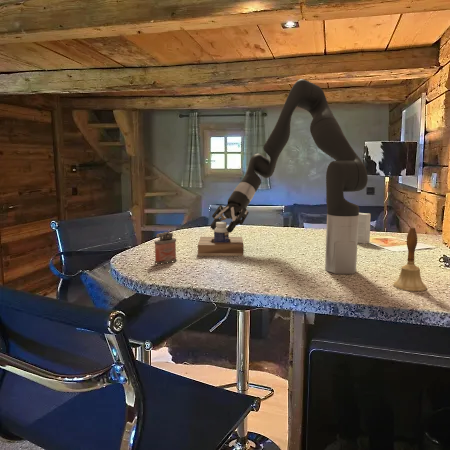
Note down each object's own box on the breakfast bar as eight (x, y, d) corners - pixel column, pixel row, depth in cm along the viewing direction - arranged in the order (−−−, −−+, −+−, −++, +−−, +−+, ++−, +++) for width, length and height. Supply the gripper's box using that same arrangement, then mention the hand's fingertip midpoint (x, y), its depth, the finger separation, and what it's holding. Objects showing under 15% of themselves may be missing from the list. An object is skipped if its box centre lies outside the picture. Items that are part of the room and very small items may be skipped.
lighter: (172, 259, 145) (171, 230, 144) (178, 261, 143) (178, 231, 141) (152, 263, 140) (151, 233, 138) (158, 265, 137) (158, 234, 136)
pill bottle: (227, 250, 155) (227, 223, 153) (212, 249, 156) (212, 223, 154) (229, 247, 160) (229, 221, 158) (215, 246, 161) (215, 221, 159)
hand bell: (393, 289, 112) (396, 229, 109) (392, 281, 119) (396, 224, 117) (427, 293, 109) (432, 231, 106) (425, 284, 117) (429, 226, 114)
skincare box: (369, 242, 175) (371, 213, 173) (365, 244, 172) (366, 214, 170) (355, 240, 179) (357, 212, 177) (351, 242, 176) (352, 213, 174)
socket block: (243, 256, 150) (243, 245, 149) (197, 256, 150) (197, 244, 149) (241, 247, 166) (242, 236, 165) (200, 246, 166) (200, 236, 165)
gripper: (223, 189, 165) (201, 221, 159) (251, 191, 155) (228, 225, 149) (233, 202, 170) (212, 233, 164) (260, 204, 160) (239, 238, 154)
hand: (220, 229), depth 156 cm, fingers open, 8 cm apart
